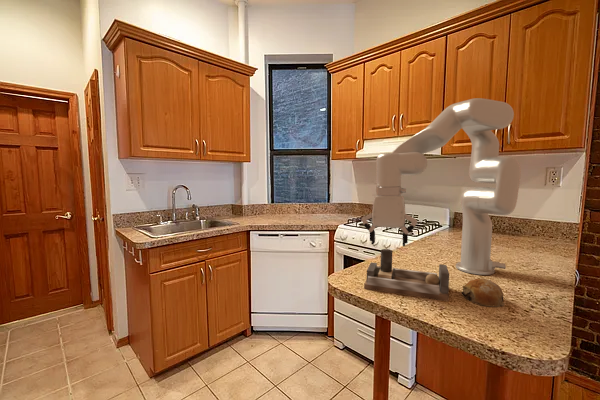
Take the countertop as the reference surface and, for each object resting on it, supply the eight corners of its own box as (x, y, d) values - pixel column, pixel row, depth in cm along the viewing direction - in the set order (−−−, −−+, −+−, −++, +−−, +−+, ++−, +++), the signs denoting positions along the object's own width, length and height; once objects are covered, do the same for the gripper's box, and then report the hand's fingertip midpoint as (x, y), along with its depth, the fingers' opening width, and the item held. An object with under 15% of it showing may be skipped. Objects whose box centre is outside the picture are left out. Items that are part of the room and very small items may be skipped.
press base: (444, 285, 92) (445, 263, 92) (448, 301, 81) (449, 276, 81) (369, 275, 102) (370, 255, 101) (364, 288, 90) (364, 265, 90)
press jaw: (395, 275, 97) (395, 247, 96) (393, 285, 88) (394, 255, 87) (381, 274, 98) (381, 246, 97) (377, 283, 90) (378, 253, 89)
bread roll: (495, 322, 77) (513, 299, 74) (457, 299, 81) (473, 276, 79) (494, 307, 85) (509, 287, 83) (459, 287, 90) (473, 266, 87)
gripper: (417, 191, 91) (416, 243, 93) (363, 191, 98) (363, 239, 99) (417, 193, 84) (416, 249, 86) (359, 193, 91) (359, 245, 92)
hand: (388, 244), depth 93 cm, fingers open, 9 cm apart
